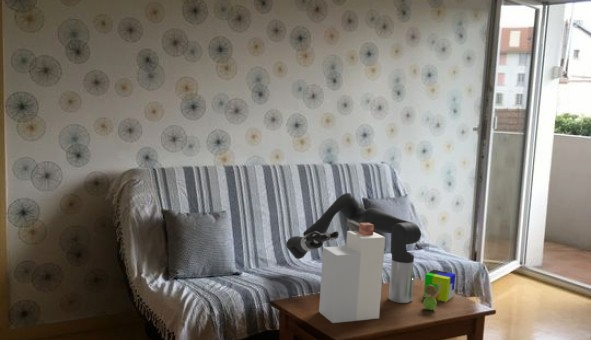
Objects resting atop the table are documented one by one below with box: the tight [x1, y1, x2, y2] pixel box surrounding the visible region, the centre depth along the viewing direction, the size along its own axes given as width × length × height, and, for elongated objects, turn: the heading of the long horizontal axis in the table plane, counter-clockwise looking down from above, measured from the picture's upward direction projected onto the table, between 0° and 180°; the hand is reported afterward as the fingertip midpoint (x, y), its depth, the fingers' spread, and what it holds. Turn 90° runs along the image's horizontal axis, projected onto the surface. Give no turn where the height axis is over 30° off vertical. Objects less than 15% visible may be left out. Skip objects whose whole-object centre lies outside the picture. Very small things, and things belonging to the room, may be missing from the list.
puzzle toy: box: [423, 269, 456, 302], centre depth 270 cm, size 10×10×10 cm
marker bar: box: [345, 219, 374, 236], centre depth 244 cm, size 4×16×4 cm, turn 23°
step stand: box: [318, 230, 386, 324], centre depth 239 cm, size 20×12×32 cm, turn 113°
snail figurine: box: [422, 282, 441, 311], centre depth 251 cm, size 5×6×12 cm
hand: (328, 234), depth 263 cm, fingers open, 8 cm apart
